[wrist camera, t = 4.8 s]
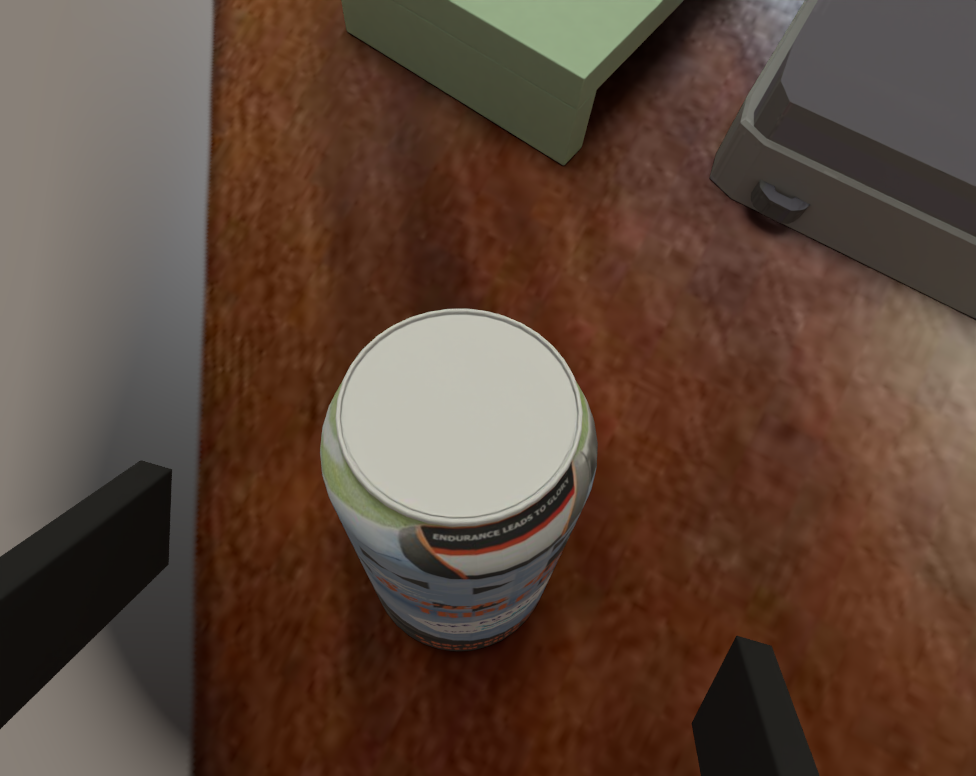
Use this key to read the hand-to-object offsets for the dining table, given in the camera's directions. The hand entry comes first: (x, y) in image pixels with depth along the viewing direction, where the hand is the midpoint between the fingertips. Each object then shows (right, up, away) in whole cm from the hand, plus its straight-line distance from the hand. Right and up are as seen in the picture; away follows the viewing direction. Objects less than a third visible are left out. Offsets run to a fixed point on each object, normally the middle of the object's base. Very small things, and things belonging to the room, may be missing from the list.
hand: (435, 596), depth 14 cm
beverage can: (0, -1, +9) cm, 9 cm away
